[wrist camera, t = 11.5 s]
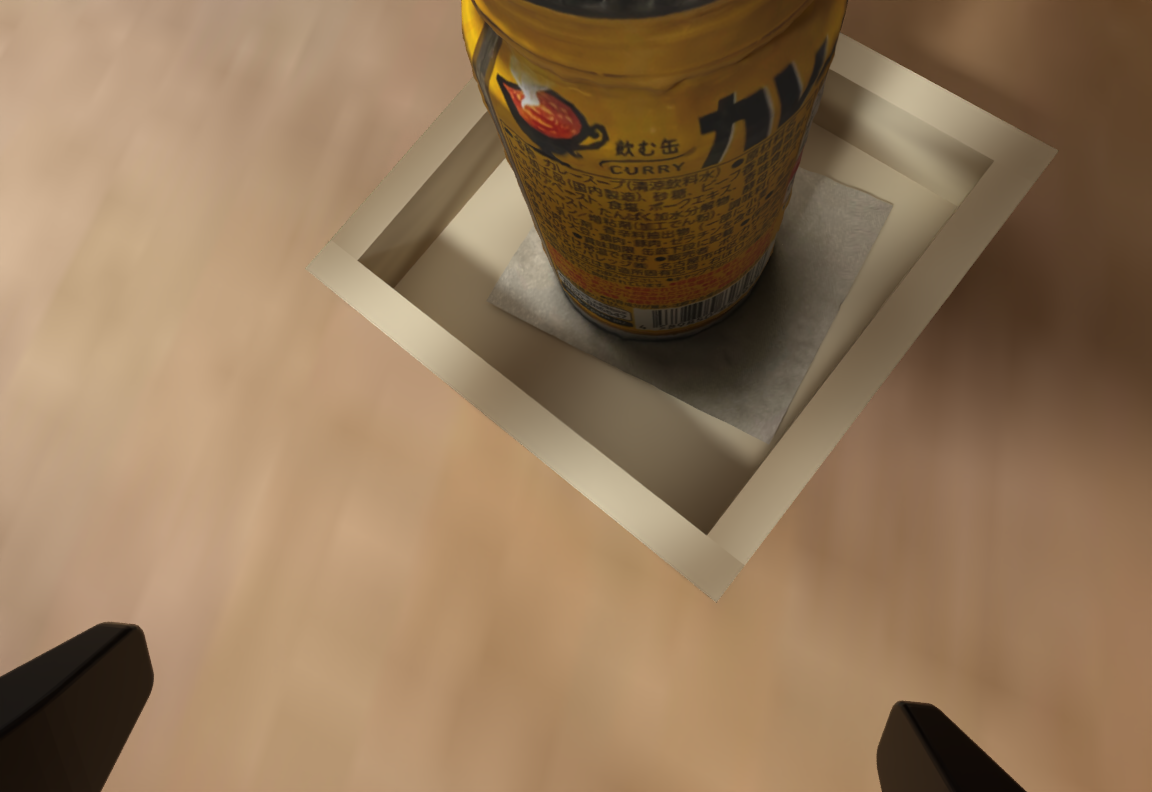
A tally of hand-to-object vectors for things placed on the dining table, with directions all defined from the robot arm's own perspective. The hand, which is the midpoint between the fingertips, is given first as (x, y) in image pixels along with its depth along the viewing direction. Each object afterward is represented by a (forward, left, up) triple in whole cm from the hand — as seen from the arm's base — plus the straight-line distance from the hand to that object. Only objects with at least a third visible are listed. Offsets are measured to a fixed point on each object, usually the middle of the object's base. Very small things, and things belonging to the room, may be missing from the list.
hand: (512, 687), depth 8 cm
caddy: (+5, -9, -10) cm, 14 cm away
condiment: (+4, -9, -10) cm, 14 cm away
